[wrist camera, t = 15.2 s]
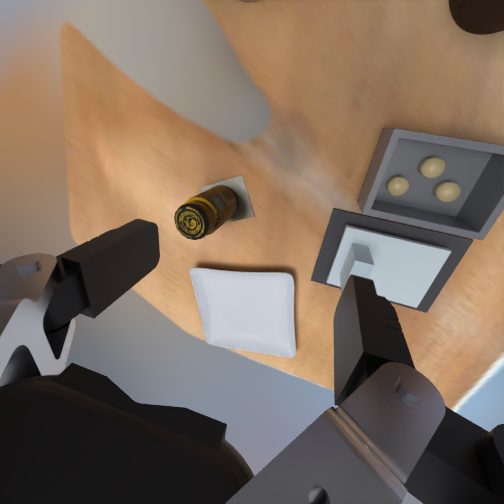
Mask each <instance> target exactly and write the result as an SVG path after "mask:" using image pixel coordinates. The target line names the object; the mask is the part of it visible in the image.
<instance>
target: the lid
mask: <svg viewBox="0 0 504 504" xmlns="http://www.w3.org/2000/svg"><path fill="white" fill-rule="evenodd" d="M450 253H451V250H450V249H448V248H444V247H440V246H436V245H431V244H427V243H423V242H418V241H414V240H410V239H406V238H401V237H397V236H393V235H388V234H384V233H380V232H376V231H371V230H367V229H363V228H358V227H354V226H350V225H346V227H345V230H344V233H343V236H342V238H341V241H340V244H339V247H338V250H337V252H336V255H335V258H334V261H333V264H332V266H331V269H330V272H329V275H328V278H327V283H329V284H333V285H336V286H340V287H341V295H342V292H343V290H344V287H345V285H346V282H347V280H348V278H349V276H350V275H351V274H353V275H356V276H360V277H364V278H368V279H372V280H373V281H374V285H375V289H376V292H377V295H379V296H383V297H385V298H386V299H387V300H390V301H394V302H397V303H401V304H404V305H408V306H411V307H415V308H417V307H418V305H419V303H420V302H421V300H422V299H423V297H424V295H425V294H426V292H427V290H428V289H429V287H430V286H431V284H432V282H433V281H434V279H435V277H436V276H437V274H438V273H439V271H440V269H441V268H442V266H443V264H444V263H445V261H446V260H447V258H448V256H449V255H450Z"/></svg>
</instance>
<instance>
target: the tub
mask: <svg viewBox="0 0 504 504" xmlns="http://www.w3.org/2000/svg"><path fill="white" fill-rule="evenodd" d="M357 201H358V204H359V207H360V210H361V212H362V214H365V215H370V216H374V217H379V218H383V219H388V220H392V221H397V222H401V223H406V224H410V225H415V226H419V227H424V228H428V229H433V230H437V231H442V232H446V233H451V234H455V235H460V236H465V237H469V238H474V239H478V240H483V239H484V238H485V236H486V235H487V233H488V232H489V230H490V229H491V227H492V226H493V224H494V223H495V221H496V220H497V218H498V217H499V215H500V214H501V212H502V211H503V209H504V146H503V145H496V144H490V143H484V142H477V141H471V140H465V139H458V138H452V137H446V136H439V135H433V134H427V133H420V132H414V131H408V130H401V129H395V128H390V129H383V130H382V133H381V136H380V138H379V141H378V144H377V147H376V150H375V152H374V155H373V158H372V161H371V163H370V166H369V169H368V172H367V174H366V177H365V180H364V183H363V186H362V188H361V191H360V194H359V197H358V199H357Z"/></svg>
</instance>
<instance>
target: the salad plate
mask: <svg viewBox="0 0 504 504" xmlns="http://www.w3.org/2000/svg"><path fill="white" fill-rule="evenodd" d="M190 276H191V280H192V284H193V288H194V292H195V295H196V299H197V303H198V307H199V311H200V316H201V320H202V325H203V330H204V334H205V338H206V341H207V343H208V344H210V345H214V346H219V347H225V348H231V349H237V350H244V351H250V352H257V353H263V354H270V355H276V356H282V357H290V358H293V357H295V355H296V341H295V325H294V289H295V288H294V279H293V276H292V275H291V274H290V273H286V272H238V271H225V270H216V269H207V268H191V269H190Z"/></svg>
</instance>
